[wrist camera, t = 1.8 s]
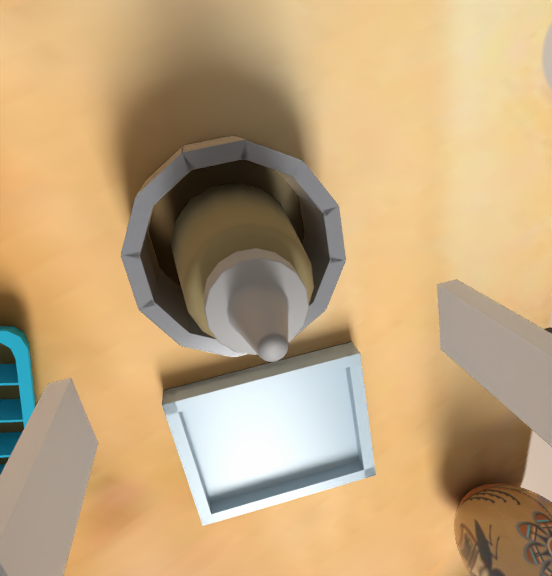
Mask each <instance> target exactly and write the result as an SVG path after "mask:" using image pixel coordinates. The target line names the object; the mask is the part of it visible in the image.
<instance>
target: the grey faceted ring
mask: <svg viewBox="0 0 552 576" xmlns="http://www.w3.org/2000/svg"><path fill="white" fill-rule="evenodd" d="M242 159H245V160H248V161H251V162H254V163H257V164H260V165H262V166H265V167H268V168H271V169H274V170H277V171H278V172H279V173H280V175H281V176H282V177H283V178H284V179H285V181H286V182H287V183H288V184H289V185H290V187H291V188H292V189H293V190H294V191H295V193H296V194H297V195H298V196H299V202H300V208H301V214H302V220H303V226H304V233H305V236H304V239H303V241H302V246H303V248H304V250H305V252H306V254H307V256H308V258H309V260H310V262H311V265H312V275H313V284H314V289H313V292H312V295H311V299H310V302H309V309H308V312H307V315H306V319H305V322H304V325H303V327H302V328H301V329H300V330H299V332H298V333H300V332H301V331H302V330H303V329H304V328H305V327H307V326H308V325H309V324H310V323H311V322H312V321H314V320H315V319H316V318H317V317H318V316H319V315H321V314H322V313H323V312H324V311H325V309H327V306H328V304H329V301H330V299H331V296H332V294H333V291H334V289H335V286H336V284H337V281H338V279H339V276H340V274H341V271H342V269H343V266H344V264H345V260H346V257H345V249H344V241H343V233H342V226H341V218H340V210H339V206H338V204H337V203H336V202H335V200H334V199H333V198H332V196H331V195H330V194H329V193H328V191H327V190H326V189H325V188H324V186H323V185H322V184H321V183H320V181H319V180H318V179H317V178H316V176H315V175H314V174H313V172H312V171H311V170H310V169H309V167H308V166H307V165H306V164H305V162H304V161H302V160H300V159H297V158H295V157H292V156H289V155H286V154H284V153H281V152H278V151H276V150H273V149H270V148H267V147H265V146H262V145H259V144H256V143H254V142H251V141H248V140H245V139H243V138H240V137H237V136H233V135H232V136H227V137H222V138H217V139H212V140H208V141H203V142H198V143H193V144H188V145H183V146H182V147H181V148H180V149H179V150H178V151H176V152H175V153H174V154H173V155H172V156H171V157H170V158H169V159H168V160H167V161H166V162H165V163H164V164H163V165H162V166H161V167H160V168H158V169H157V170H156V171H155V172H154V173H153V174H152V175H151V176H150V177H149V178H148V179H147V180H146V181H145V183H144V184H143V186H142V187H141V189H140V190H139V192H138V193H137V195H136V197H135V200H134V204H133V208H132V212H131V216H130V220H129V224H128V228H127V232H126V236H125V240H124V244H123V248H122V252H121V258H122V261H123V264H124V267H125V270H126V273H127V276H128V279H129V282H130V285H131V288H132V291H133V294H134V297H135V300H136V303H137V306H138V309H139V311H141V312H142V313H143V314H144V315H145V316H146V317H148V318H149V319H150V320H151V321H152V322H153V323H154V324H156V325H157V326H158V327H159V328H160V329H161V330H163V331H164V332H165V333H166V334H167V335H168V336H169V337H171V338H172V339H173V340H174V341H175V342H176V343H178V344H179V345H181V346H182V347H187V348H191V349H196V350H201V351H205V352H210V353H214V354H219V355H223V356H228V357H232V358H233V356H234V358H235V357H239V356H243V355H246V353H239V352H235V351H233V350H232V349H230V348H228V347H226V346H225V345H223V344H221V343H219V341H218V340H217V339H215V338H214V337H212V336H210V335H208V334H207V333H205V332H203V331H202V330H201V328H200V327H199V326H198V324H197V323H196V322H195V320H194V319H193V318H192V316H191V315H190V314H189V312H188V310H187V306H186V302H185V299H184V295H183V291H182V289H181V288H180V287H179V286H178V285H177V284H176V283H175V282H174V281H173V280H172V279H171V278H170V277H169V276H167V275H166V274H165V273H164V272H163V271H162V270H161V269H160V267H159V264H158V261H157V257H156V254H155V251H154V247H153V244H152V240H151V237H150V234H149V230H148V229H149V225H150V221H151V218H152V214H153V210H154V206H155V204H156V203H157V202H158V201H159V200H160V199H161V198H162V197H163V196H164V195H165V194H166V193H168V192H169V191H170V190H171V189H172V188H173V187H174V186H175V185H176V184H177V183H178V182H179V181H180V180H181V179H182V178H184V177H185V176H186V175H187V174H188V173H189V172H190V171H191V170H194V169H199V168H204V167H208V166H213V165H218V164H223V163H228V162H232V161H237V160H242ZM298 333H297V334H298ZM297 334H296V335H297ZM296 335H295V336H296Z"/></svg>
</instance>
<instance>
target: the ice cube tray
mask: <svg viewBox="0 0 552 576" xmlns="http://www.w3.org/2000/svg"><path fill="white" fill-rule="evenodd" d="M0 343H2V344H4V345H5V346H7V347H9V348H10V349H11V351H12V353H13V355H14V357H15V359H16V364H0V385H19V391H20V399H0V423H2V422H23V423H24V428H25V426H26V424H27V422H28V420H29V419H30V417H31V415H32V413H33V411H34V409H35V407H36V404H35V394H34V385H33V376H32V367H31V358H30V349H29V342H28V340H27V338H26V336H25V334H24V332H23V331H21V330H19V329H18V328H16V327H15V326H0ZM21 434H22V432H6V433H0V458H1V457H10V455H11V453H12V452H13V450H14V448H15V446H16V444H17V442H18V440H19V438H20V436H21ZM5 465H6V464H0V475H1V473H2V471H3V469H4V467H5Z"/></svg>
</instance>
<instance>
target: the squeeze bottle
mask: <svg viewBox="0 0 552 576" xmlns="http://www.w3.org/2000/svg"><path fill="white" fill-rule="evenodd" d="M171 247H172V252H173V256H174V261H175V265H176V269H177V273H178V277H179V280H180V284H181V288H182V291H183V295H184V299H185V302H186V306H187V310H188V312H189V314H190V315H191V316H192V318H193V319H194V320H195V322H196V323H197V324H198V326H199V327H200V328H201V330H202V331H203V332H205V333H207V334H208V335H210V336H212V337H214V338H215V339H217V340H218V341H219V343H221V344H223V345H225V346H226V347H228V348H230V349H232V350H233V351H235V352H239V353H246V354H253V355H257V354H258V355H259V356H260V358H262V359H263V360H265V361H269V362H274V361H278V360H280V359H281V358H283V357H284V356H285V354H286V353H287V350H288V342H290V341H291V340H292V339H293V338H294V337H295V335H296V334H297V333H298V332H299V330H300V329H301V328H302V327H303V325H304V322H305V319H306V315H307V312H308V309H309V302H310V299H311V295H312V292H313V289H314V284H313V275H312V265H311V262H310V260H309V258H308V256H307V254H306V252H305V250H304V248H303V246H302V244H301V242H300V240H299V238H298V236H297V234H296V232H295V230H294V227H293V225H292V223H291V222H290V220H289V218H288V216H287V215H286V213H285V211H284V209H283V208H282V206H281V204H280V203H279V202H278V201H276V200H275V199H274V198H272V197H271V196H270V195H268V194H267V193H266V192H264V191H263V190H262V189H260V188H257V187H252V186H248V185H244V184H240V183H230V184H224V185H218V186H211V187H210V188H208V189H206V190H205V191H203V192H202V193H200V194H198V195H197V196H195V197H194V198H192V199H190V200H189V202H188V203H187V205H186V206H185V207H184V209H183V210H182V212H181V213H180V215H179V216H178V218H177V219H176V220H175V225H174V231H173V236H172V241H171Z"/></svg>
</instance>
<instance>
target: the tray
mask: <svg viewBox="0 0 552 576" xmlns="http://www.w3.org/2000/svg"><path fill="white" fill-rule="evenodd" d="M162 406H163V409H164V412H165V415H166V418H167V421H168V424H169V427H170V430H171V433H172V436H173V439H174V442H175V445H176V448H177V451H178V454H179V457H180V460H181V463H182V466H183V469H184V472H185V475H186V478H187V481H188V483H189V486H190V489H191V492H192V495H193V498H194V501H195V504H196V507H197V510H198V513H199V516H200V519H201V522H202V525H203V526H204V525H207V524H211V523H214V522H218V521H221V520H224V519H228V518H231V517H235V516H238V515H242V514H245V513H248V512H252V511H255V510H259V509H262V508H265V507H269V506H272V505H276V504H279V503H282V502H286V501H289V500H293V499H296V498H300V497H303V496H306V495H310V494H313V493H317V492H320V491H323V490H327V489H330V488H334V487H337V486H340V485H344V484H347V483H351V482H354V481H357V480H361V479H364V478H368V477H371V476H375V475H376V474H375V466H374V458H373V450H372V442H371V434H370V427H369V419H368V411H367V403H366V395H365V387H364V379H363V372H362V364H361V356H360V352H359V351H358V350H357V348H356V347H355V345H354V344H353V343H352V342H349V343H345V344H341V345H337V346H334V347H330V348H326V349H322V350H318V351H314V352H310V353H307V354H303V355H299V356H295V357H291V358H287V359H283V360H279V361H276V362H272V363H268V364H264V365H260V366H256V367H252V368H249V369H245V370H241V371H237V372H233V373H229V374H225V375H222V376H218V377H214V378H210V379H206V380H202V381H198V382H195V383H191V384H187V385H183V386H179V387H175V388H171V389H168V390H164V391H163V400H162Z"/></svg>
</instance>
